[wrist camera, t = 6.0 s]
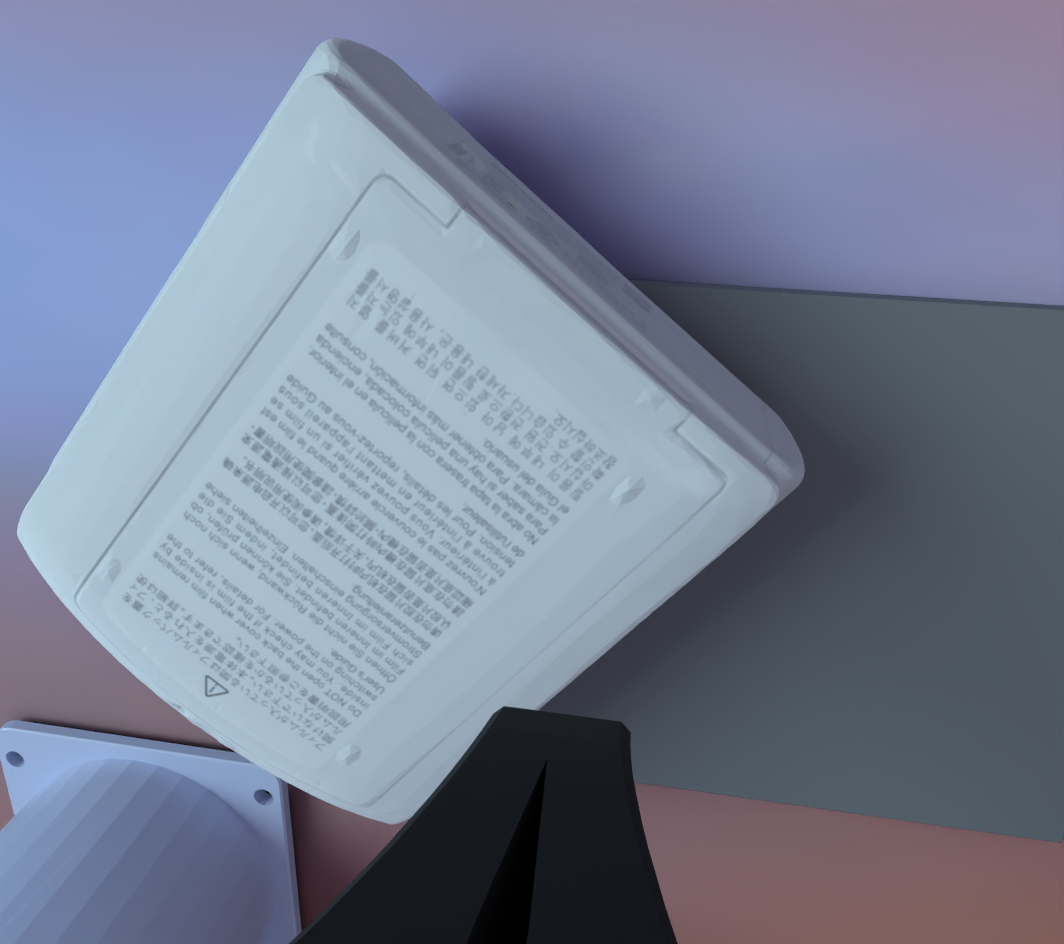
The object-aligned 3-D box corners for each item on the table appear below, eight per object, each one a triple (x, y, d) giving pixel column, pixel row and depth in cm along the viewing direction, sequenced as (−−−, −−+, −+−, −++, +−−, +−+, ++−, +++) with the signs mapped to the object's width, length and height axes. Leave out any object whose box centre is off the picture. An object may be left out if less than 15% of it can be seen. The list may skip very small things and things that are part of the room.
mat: (1054, 829, 20) (1061, 842, 20) (323, 726, 22) (317, 737, 22) (1225, 315, 15) (1237, 320, 15) (289, 258, 18) (281, 262, 18)
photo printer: (377, 31, 16) (75, 497, 21) (269, 14, 12) (-70, 593, 17) (804, 414, 17) (424, 765, 22) (834, 513, 13) (364, 911, 18)
